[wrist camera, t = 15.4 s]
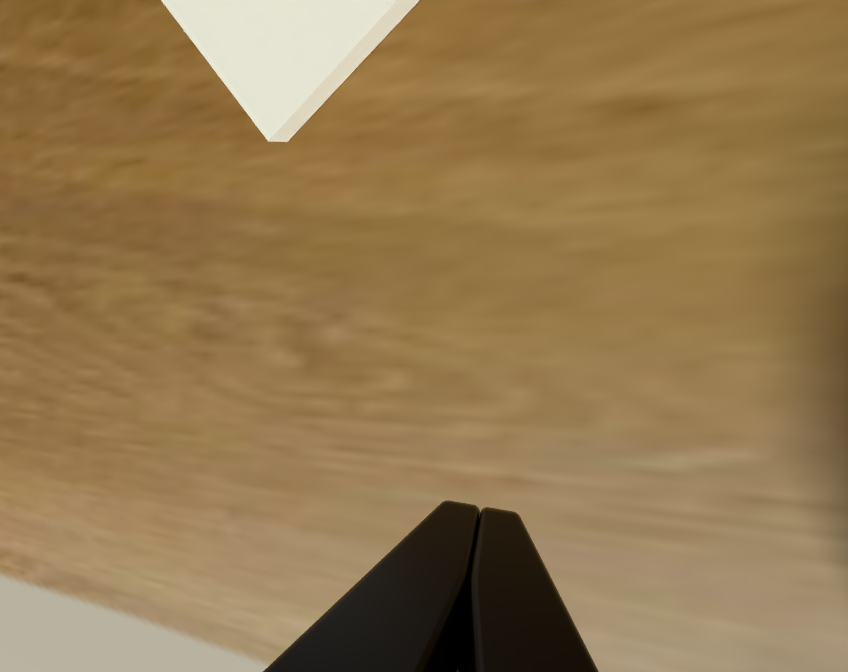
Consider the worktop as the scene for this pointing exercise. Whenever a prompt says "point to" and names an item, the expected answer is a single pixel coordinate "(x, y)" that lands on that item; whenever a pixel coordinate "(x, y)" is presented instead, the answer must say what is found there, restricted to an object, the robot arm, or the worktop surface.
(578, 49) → the worktop surface
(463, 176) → the worktop surface
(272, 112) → the domino board
